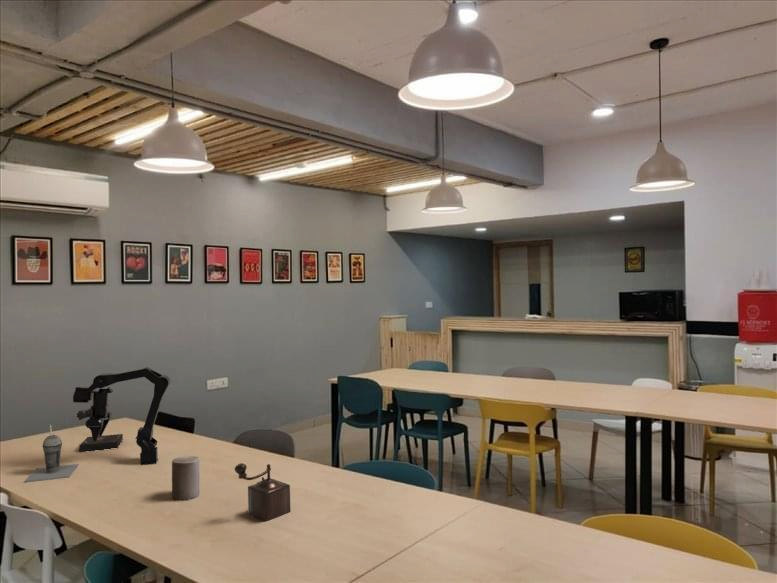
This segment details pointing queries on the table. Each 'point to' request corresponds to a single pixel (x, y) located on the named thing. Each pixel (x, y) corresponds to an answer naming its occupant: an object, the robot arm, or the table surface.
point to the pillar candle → (185, 477)
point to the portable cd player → (101, 443)
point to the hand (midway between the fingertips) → (97, 438)
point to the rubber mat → (42, 474)
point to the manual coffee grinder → (266, 495)
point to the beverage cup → (52, 452)
